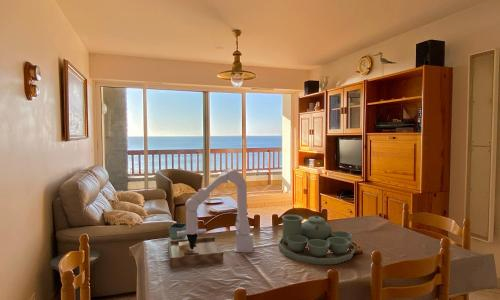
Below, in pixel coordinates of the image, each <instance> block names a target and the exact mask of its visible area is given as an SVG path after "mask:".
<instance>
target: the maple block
mask: <svg viewBox="0 0 500 300" xmlns="http://www.w3.org/2000/svg"><path fill="white" fill-rule="evenodd" d="M189 252H190V244H189V241H186V242H179V253H189Z"/></svg>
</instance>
